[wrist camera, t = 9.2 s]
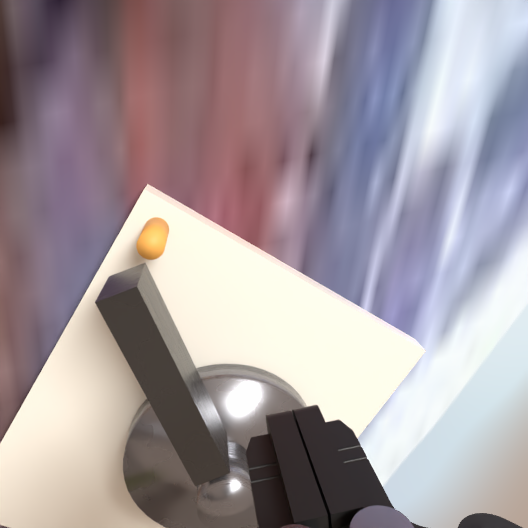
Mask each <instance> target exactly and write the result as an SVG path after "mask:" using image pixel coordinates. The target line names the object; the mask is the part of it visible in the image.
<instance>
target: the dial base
mask: <svg viewBox="0 0 528 528" xmlns="http://www.w3.org/2000/svg"><path fill="white" fill-rule="evenodd" d="M143 263H146V265H147V267H148V269H149V271H150V273H151V275H152V277H153V279H154V281H155V284H156V286H157V288H158V290H159V292H160V294H161V296H162V298H163V300H164V302H165V304H166V306H167V309H168V311H169V313H170V315H171V317H172V319H173V321H174V323H175V325H176V327H177V329H178V331H179V333H180V336H181V338H182V340H183V342H184V344H185V346H186V348H187V350H188V352H189V354H190V356H191V358H192V361H193V363H194V365H195V367H196V368H199V367H204V366H209V365H216V364H241V365H248V366H253V367H256V368H260V369H263V370H266V371H268V372H270V373H273V374H275V375H276V376H278V377H280V378H282V379H283V380H285V381H286V382H287V383H288V384H290V385H291V386H292V387H293V388H294V389H295V390H296V391H297V392H298V393H299V394H300V396H301V397H302V399H303V400H304V402H305V403H306V405H307V406H312V405H318V407H319V409H320V411H321V413H322V415H323V417H324V420H325V422H329V421H334V420H341V421H342V422H343V423H344V424H346V425H347V426H348V427H349V428H351V429H352V430H353V431H354V433H355V435H356V437H357V438H358V437H359V435H360V434H361V433H362V432H363V430H364V429H365V428H366V426H367V425H368V424H369V423H370V421H371V420H372V419H373V418H374V416H375V415H376V414H377V412H378V411H379V410H380V409H381V407H382V406H383V405H384V404H385V402H386V401H387V400H388V398H389V397H390V396H391V395H392V393H393V392H394V391H395V390H396V388H397V387H398V386H399V384H400V383H401V382H402V381H403V379H404V378H405V377H406V375H407V374H408V373H409V372H410V370H411V369H412V368H413V367H414V365H415V364H416V363H417V361H418V360H419V359H420V358H421V356H422V355H423V354H424V353H425V351H426V350H425V349H424V348H423V347H422V346H421V345H420V344H419V343H418V342H417V341H416V340H415V339H414V338H412V337H411V336H409V335H407V334H405V333H404V332H402V331H400V330H398V329H397V328H395V327H393V326H392V325H390V324H388V323H386V322H385V321H383V320H381V319H379V318H378V317H376V316H374V315H373V314H371V313H369V312H367V311H366V310H364V309H362V308H361V307H359V306H357V305H355V304H354V303H352V302H350V301H348V300H347V299H345V298H343V297H342V296H340V295H338V294H336V293H335V292H333V291H331V290H329V289H328V288H326V287H324V286H323V285H321V284H319V283H317V282H316V281H314V280H312V279H311V278H309V277H307V276H305V275H304V274H302V273H300V272H298V271H297V270H295V269H293V268H292V267H290V266H288V265H286V264H285V263H283V262H281V261H279V260H278V259H276V258H274V257H273V256H271V255H269V254H267V253H266V252H264V251H262V250H261V249H259V248H257V247H255V246H254V245H252V244H250V243H248V242H247V241H245V240H243V239H242V238H240V237H238V236H236V235H235V234H233V233H231V232H229V231H228V230H226V229H224V228H223V227H221V226H219V225H217V224H216V223H214V222H212V221H211V220H209V219H207V218H205V217H204V216H202V215H200V214H198V213H197V212H195V211H193V210H192V209H190V208H188V207H186V206H185V205H183V204H181V203H179V202H178V201H176V200H174V199H173V198H171V197H169V196H167V195H166V194H164V193H162V192H161V191H159V190H157V189H155V188H154V187H152V186H150V185H148V184H147V186H146V187H145V189H144V190H143V192H142V194H141V196H140V197H139V199H138V201H137V203H136V204H135V206H134V208H133V210H132V212H131V213H130V215H129V217H128V219H127V220H126V222H125V224H124V226H123V227H122V229H121V231H120V233H119V235H118V236H117V238H116V240H115V242H114V243H113V245H112V247H111V249H110V250H109V252H108V254H107V256H106V258H105V259H104V261H103V263H102V265H101V266H100V268H99V270H98V272H97V273H96V275H95V277H94V279H93V281H92V282H91V284H90V286H89V288H88V289H87V291H86V293H85V295H84V296H83V298H82V300H81V302H80V304H79V305H78V307H77V309H76V311H75V312H74V314H73V316H72V318H71V319H70V321H69V323H68V325H67V327H66V328H65V330H64V332H63V334H62V335H61V337H60V339H59V341H58V342H57V344H56V346H55V348H54V350H53V351H52V353H51V355H50V357H49V358H48V360H47V362H46V364H45V365H44V367H43V369H42V371H41V373H40V374H39V376H38V378H37V380H36V381H35V383H34V385H33V387H32V388H31V390H30V392H29V394H28V396H27V397H26V399H25V401H24V403H23V404H22V406H21V408H20V410H19V411H18V413H17V415H16V417H15V419H14V420H13V422H12V424H11V426H10V427H9V429H8V431H7V433H6V434H5V436H4V438H3V440H2V442H1V443H0V525H3V526H6V527H10V528H165V527H163V526H162V525H160V524H158V523H156V522H155V521H153V520H152V519H151V518H149V517H148V516H147V515H146V514H145V513H144V512H143V511H142V510H141V509H140V508H139V507H138V506H137V505H136V503H135V502H134V501H133V499H132V497H131V495H130V494H129V492H128V490H127V487H126V483H125V480H124V474H123V457H124V452H125V447H126V442H127V438H128V433H129V429H130V426H131V423H132V421H133V418H134V416H135V415H136V413H137V411H138V409H139V408H140V406H141V405H142V404H143V402H144V401H145V400H146V399H147V397H146V395H145V394H144V392H143V390H142V388H141V386H140V384H139V383H138V381H137V379H136V377H135V375H134V373H133V372H132V370H131V368H130V366H129V364H128V362H127V361H126V359H125V357H124V355H123V353H122V351H121V350H120V348H119V346H118V344H117V342H116V340H115V339H114V337H113V335H112V333H111V331H110V329H109V328H108V326H107V324H106V322H105V320H104V318H103V317H102V315H101V313H100V311H99V309H98V307H97V306H96V304H95V301H96V299H97V297H98V296H99V294H100V292H101V290H102V288H103V286H104V285H105V283H106V281H107V279H108V277H109V276H111V275H114V274H116V273H119V272H122V271H124V270H127V269H130V268H132V267H135V266H138V265H140V264H143Z"/></svg>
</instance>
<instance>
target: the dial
mask: <svg viewBox="0 0 528 528" xmlns="http://www.w3.org/2000/svg"><path fill="white" fill-rule="evenodd" d="M95 304H96V306H97V307H98V309H99V311H100V313H101V315H102V317H103V318H104V320H105V322H106V324H107V326H108V328H109V329H110V331H111V333H112V335H113V337H114V339H115V340H116V342H117V344H118V346H119V348H120V350H121V351H122V353H123V355H124V357H125V359H126V361H127V362H128V364H129V366H130V368H131V370H132V372H133V373H134V375H135V377H136V379H137V381H138V383H139V384H140V386H141V388H142V390H143V392H144V394H145V395H146V397H147V399H146V400H145V401H144V402H143V404H142V405H141V406H140V408H139V409H138V411H137V413H136V415H135V416H134V418H133V421H132V423H131V426H130V429H129V433H128V438H127V442H126V447H125V452H124V457H123V474H124V480H125V483H126V487H127V490H128V492H129V494H130V495H131V497H132V499H133V501H134V502H135V503H136V505H137V506H138V507H139V508H140V509H141V510H142V511H143V512H144V513H145V514H146V515H147V516H148V517H149V518H151V519H152V520H153V521H155V522H156V523H158V524H160V525H162V526H163V527H165V528H258V526H257V520H256V514H255V508H254V502H253V496H252V490H251V483H250V477H249V470H248V464H247V457H246V450H247V447H248V444H249V442H250V439H251V437H255V436H260V435H265V434H268V432H267V424H266V415H267V414H272V413H277V412H282V411H287V410H291V412H292V409H297V408H302V407H307V405H306V403H305V402H304V400H303V399H302V397H301V396H300V394H299V393H298V392H297V391H296V390H295V389H294V388H293V387H292V386H291V385H290V384H288V383H287V382H286V381H285V380H283V379H282V378H280V377H278V376H276V375H275V374H273V373H270V372H268V371H266V370H263V369H260V368H256V367H253V366H248V365H241V364H216V365H209V366H204V367H199V368H196V367H195V365H194V363H193V361H192V358H191V356H190V354H189V352H188V350H187V348H186V346H185V344H184V342H183V340H182V338H181V336H180V333H179V331H178V329H177V327H176V325H175V323H174V321H173V319H172V317H171V315H170V313H169V311H168V309H167V306H166V304H165V302H164V300H163V298H162V296H161V294H160V292H159V290H158V288H157V286H156V284H155V281H154V279H153V277H152V275H151V273H150V271H149V269H148V267H147V265H146V263H143V264H140V265H138V266H135V267H132V268H130V269H127V270H124V271H122V272H119V273H116V274H114V275H111V276H109V277H108V279H107V281H106V283H105V285H104V286H103V288H102V290H101V292H100V294H99V296H98V297H97V299H96V301H95Z"/></svg>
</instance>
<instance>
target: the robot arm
mask: <svg viewBox="0 0 528 528" xmlns="http://www.w3.org/2000/svg"><path fill="white" fill-rule="evenodd" d="M266 424H267V432H268V434H265V435H260V436H255V437H251V439H250V442H249V444H248V447H247V450H246V457H247V464H248V470H249V477H250V483H251V490H252V496H253V502H254V508H255V514H256V520H257V526H258V528H426V527H422V526H419V525H416V524H414V523H412V522H410V521H409V519H408V518H407V517H406V516H404V515H403V514H402V513H401V512H399V511H397V510H395V509H394V507H393V506H392V504H391V503H390V501H389V499H388V497H387V495H386V493H385V491H384V489H383V487H382V485H381V483H380V481H379V479H378V477H377V476H376V474H375V472H374V470H373V468H372V466H371V464H370V462H369V460H368V459H367V457H366V454H365V453H364V451H363V449H362V447H361V446H360V443H359V441H358V439H357V437H356V435H355V433H354V431H353V430H352V429H351V428H349V427H348V426H347V425H346V424H344V423H343V422H342V421H341V420H334V421H329V422H325V420H324V417H323V415H322V413H321V411H320V409H319V407H318V405H312V406H307V407H302V408H297V409H292V412H291V410H287V411H282V412H277V413H272V414H267V415H266ZM458 528H522V527H520V526H518V525H516V524H514V523H512V522H510V521H508V520H506V519H504V518H501V517H499V516H496V515H492V514H487V513H477V514H472V515H469V516H467V517H466V518H464V519H463V520H462V521H461V522H460V524H459V526H458Z"/></svg>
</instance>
